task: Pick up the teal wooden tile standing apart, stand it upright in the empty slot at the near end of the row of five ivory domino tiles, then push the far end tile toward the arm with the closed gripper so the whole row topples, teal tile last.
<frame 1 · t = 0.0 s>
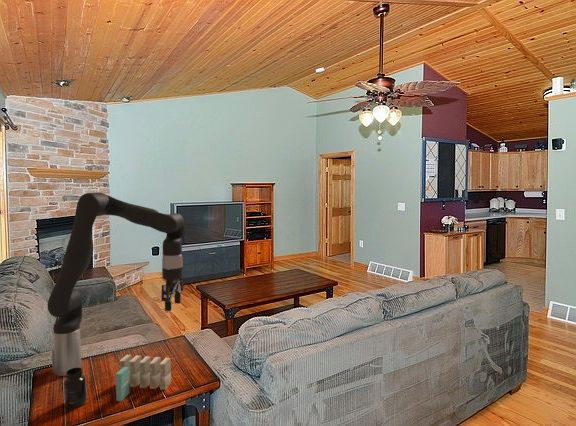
hand: (173, 306, 145), 29 cm above the table, fingers open, 8 cm apart
domino 4: (136, 383, 144), on the table
supplement bottle: (75, 403, 131), on the table
domino 3: (145, 384, 143), on the table
domino 2: (155, 385, 143), on the table
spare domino: (122, 397, 135), on the table
domino 5: (126, 382, 144), on the table
domino 1: (165, 386, 142), on the table
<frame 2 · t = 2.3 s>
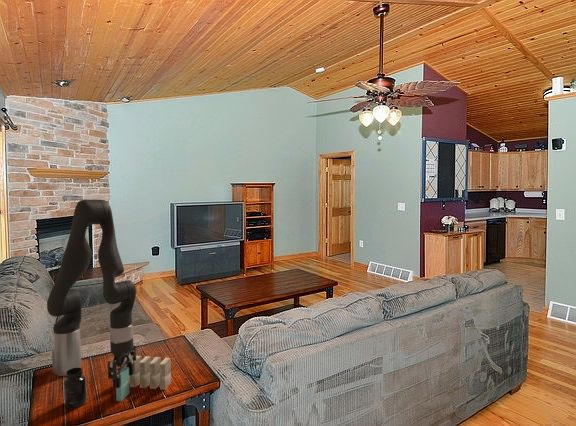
hand: (123, 381, 134), 6 cm above the table, fingers open, 8 cm apart
domino 4: (136, 383, 144), on the table, touching gripper
everything else where it was.
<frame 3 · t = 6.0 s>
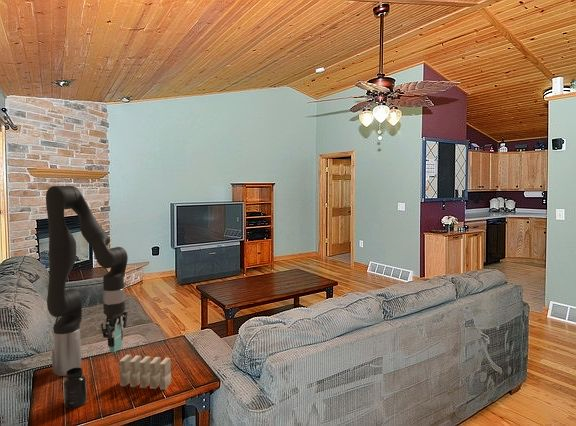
hand: (115, 343, 143), 16 cm above the table, fingers closed on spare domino, 5 cm apart
domino 4: (136, 383, 144), on the table
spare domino: (115, 349, 144), point 13 cm above the table, touching gripper
everything else where it was.
when the fingers open (3 cm above the table, at t = 8.6 s): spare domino stays where it is, on the table.
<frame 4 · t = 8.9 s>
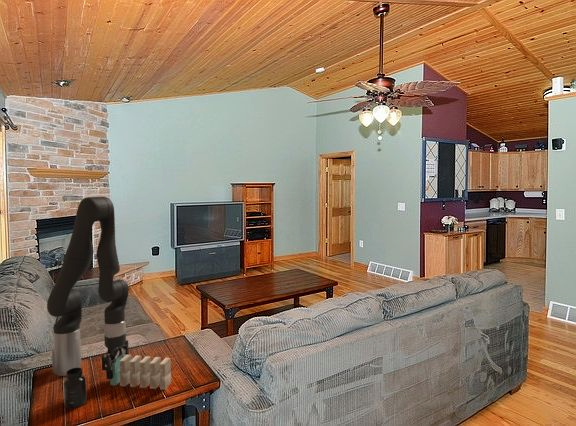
hand: (116, 373, 145), 4 cm above the table, fingers open, 8 cm apart
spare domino: (116, 381, 145), on the table
everything else where it was.
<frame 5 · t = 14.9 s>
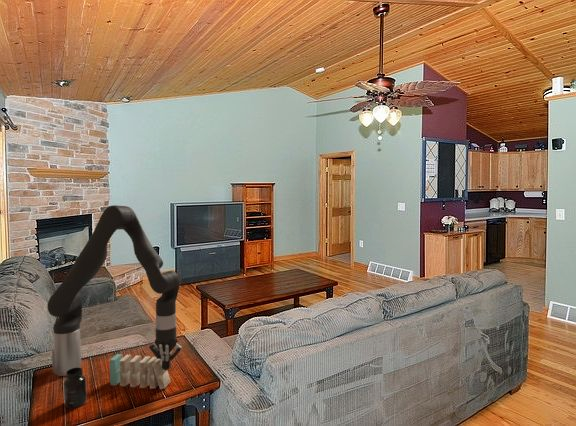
hand: (166, 369, 142), 7 cm above the table, fingers closed
domino 2: (155, 384, 143), on the table, tilted 6°
domino 1: (165, 385, 142), on the table, tilted 18°
everything else where it was.
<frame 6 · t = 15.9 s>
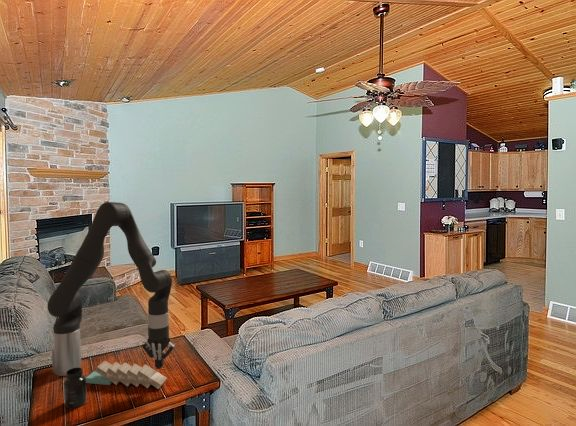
hand: (159, 367, 142), 7 cm above the table, fingers closed
domino 4: (132, 381, 144), point 1 cm above the table, tilted 60°, touching domino 3, domino 5
domino 3: (141, 381, 144), point 1 cm above the table, tilted 60°, touching domino 2, domino 4
domino 2: (152, 382, 143), point 1 cm above the table, tilted 60°, touching domino 1, domino 3
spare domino: (113, 379, 145), point 1 cm above the table, tilted 90°, touching domino 5
domino 5: (121, 379, 144), point 1 cm above the table, tilted 60°, touching domino 4, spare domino
domino 1: (162, 383, 143), point 1 cm above the table, tilted 61°, touching domino 2
everything else where it was.
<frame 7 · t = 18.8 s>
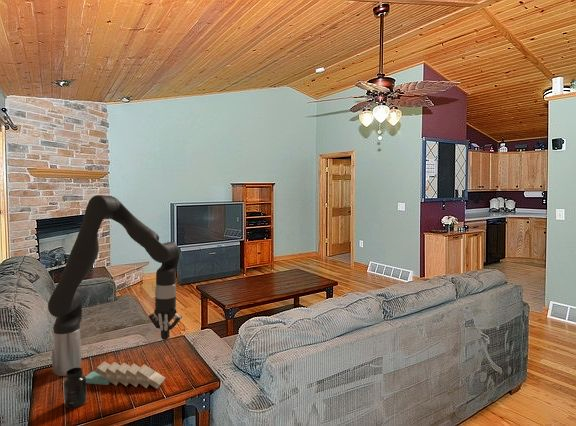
hand: (165, 338, 144), 17 cm above the table, fingers closed
domino 5: (121, 380, 144), point 1 cm above the table, tilted 60°, touching domino 4, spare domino
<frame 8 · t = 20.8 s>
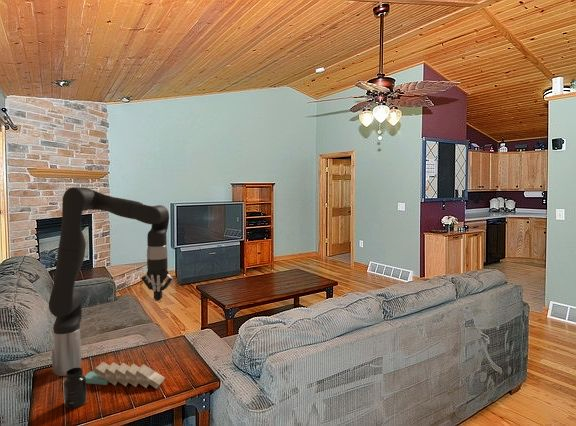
hand: (158, 300, 147), 31 cm above the table, fingers closed
at the end: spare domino tilted 90°; domino 5 tilted 62°; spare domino inside the target area (1.9 cm from its centre), point 0.9 cm above the table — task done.
